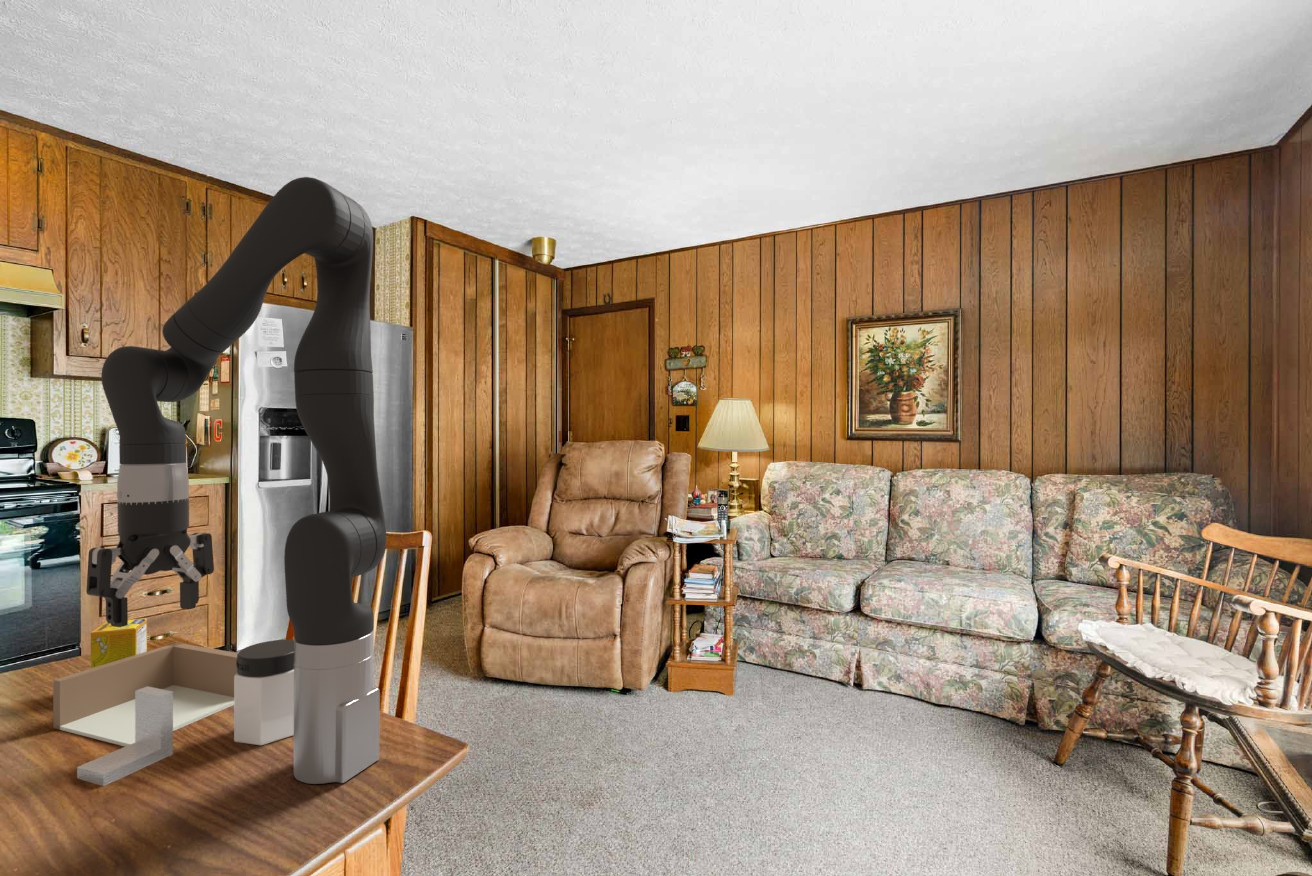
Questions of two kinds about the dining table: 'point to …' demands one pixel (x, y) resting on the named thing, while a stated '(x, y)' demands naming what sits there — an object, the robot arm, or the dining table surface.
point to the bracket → (137, 740)
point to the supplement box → (118, 641)
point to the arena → (108, 691)
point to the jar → (264, 693)
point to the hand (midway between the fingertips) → (155, 616)
